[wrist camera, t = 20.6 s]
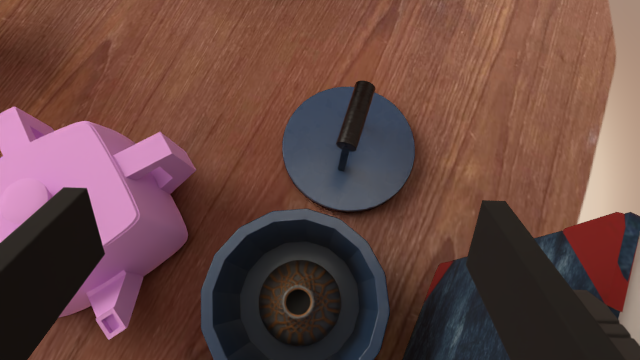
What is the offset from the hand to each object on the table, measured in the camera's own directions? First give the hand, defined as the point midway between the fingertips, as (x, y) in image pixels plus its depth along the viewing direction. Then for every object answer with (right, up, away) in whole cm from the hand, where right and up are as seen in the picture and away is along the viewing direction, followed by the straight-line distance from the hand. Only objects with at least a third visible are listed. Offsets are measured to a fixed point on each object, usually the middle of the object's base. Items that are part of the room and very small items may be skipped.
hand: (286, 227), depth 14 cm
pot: (-1, -10, +24) cm, 26 cm away
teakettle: (-20, -4, +26) cm, 33 cm away
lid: (+4, +5, +28) cm, 29 cm away
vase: (-1, -10, +24) cm, 26 cm away
